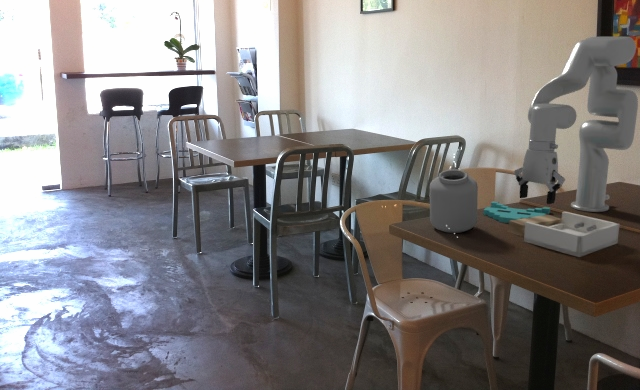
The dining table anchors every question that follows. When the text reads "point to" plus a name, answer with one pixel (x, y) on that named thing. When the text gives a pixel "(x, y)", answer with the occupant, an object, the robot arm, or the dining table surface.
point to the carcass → (573, 234)
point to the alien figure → (512, 212)
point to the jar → (453, 201)
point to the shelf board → (519, 224)
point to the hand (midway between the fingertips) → (536, 200)
